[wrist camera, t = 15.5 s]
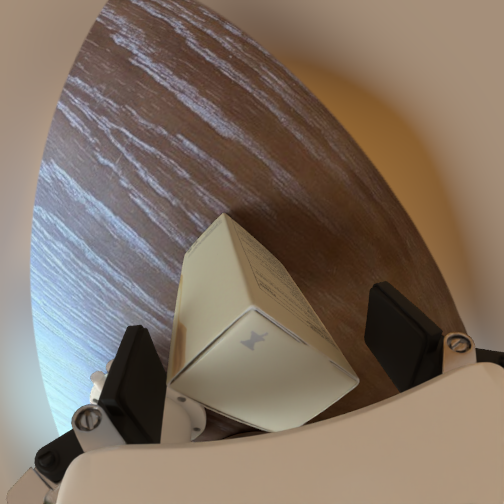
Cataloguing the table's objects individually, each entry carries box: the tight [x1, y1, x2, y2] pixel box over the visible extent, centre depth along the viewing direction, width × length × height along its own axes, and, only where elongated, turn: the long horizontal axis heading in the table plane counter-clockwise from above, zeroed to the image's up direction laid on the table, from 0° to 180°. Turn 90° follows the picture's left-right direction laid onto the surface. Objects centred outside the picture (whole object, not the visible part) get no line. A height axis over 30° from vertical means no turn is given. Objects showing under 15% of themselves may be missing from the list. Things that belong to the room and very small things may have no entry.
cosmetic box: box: [166, 213, 359, 432], centre depth 14 cm, size 6×4×12 cm
